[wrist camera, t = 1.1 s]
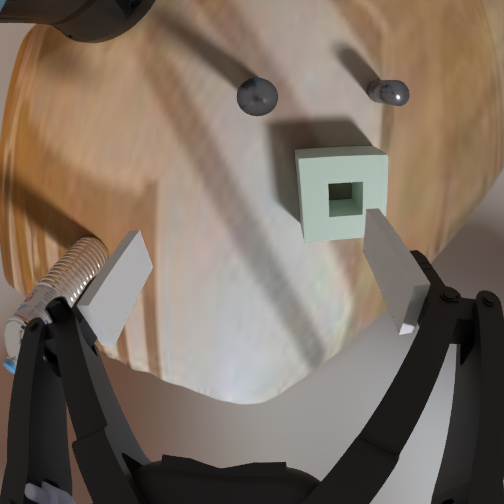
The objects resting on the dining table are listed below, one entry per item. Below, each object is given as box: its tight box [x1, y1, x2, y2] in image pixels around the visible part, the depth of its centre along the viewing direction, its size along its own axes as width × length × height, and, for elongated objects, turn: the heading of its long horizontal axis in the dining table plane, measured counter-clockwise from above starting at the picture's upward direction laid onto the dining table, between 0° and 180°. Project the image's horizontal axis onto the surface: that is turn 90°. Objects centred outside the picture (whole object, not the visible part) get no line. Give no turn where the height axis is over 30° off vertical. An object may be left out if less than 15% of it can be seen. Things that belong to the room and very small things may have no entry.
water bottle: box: [4, 236, 109, 373], centre depth 32 cm, size 7×7×25 cm
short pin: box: [367, 80, 409, 106], centre depth 25 cm, size 3×3×6 cm
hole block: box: [294, 146, 388, 243], centre depth 32 cm, size 10×10×5 cm
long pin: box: [237, 78, 278, 116], centre depth 23 cm, size 3×3×14 cm
